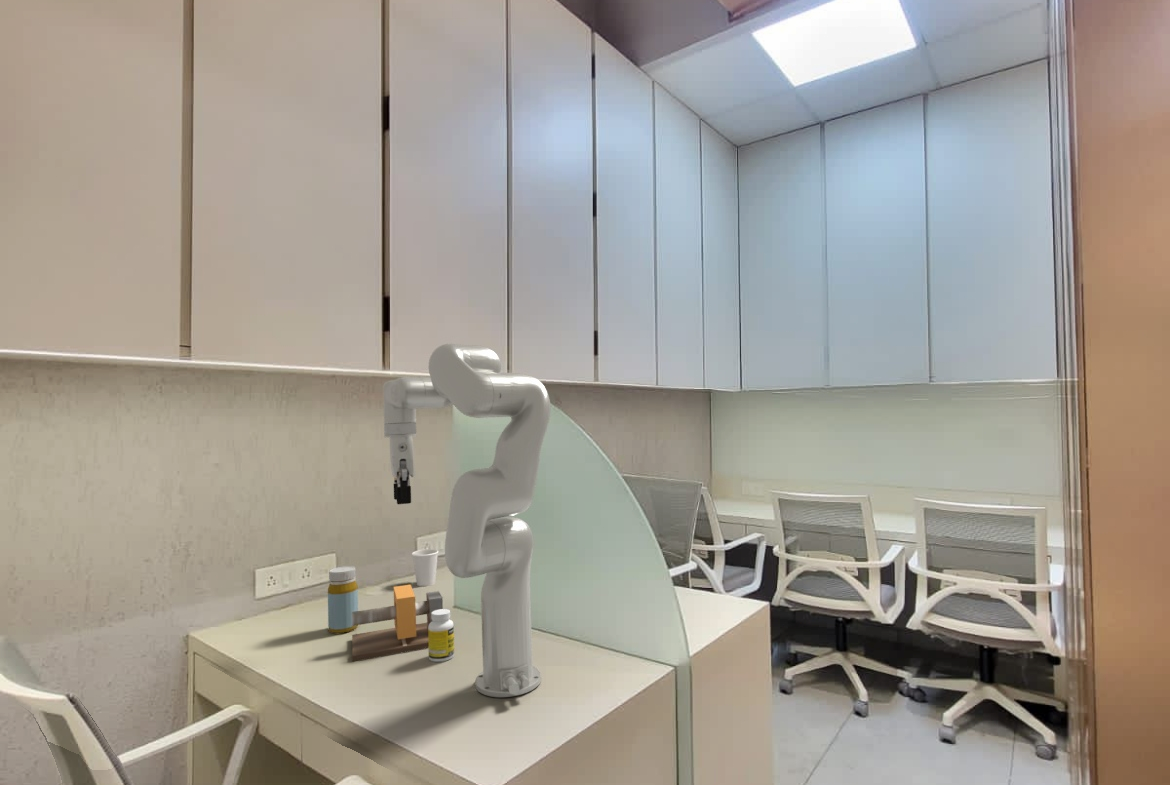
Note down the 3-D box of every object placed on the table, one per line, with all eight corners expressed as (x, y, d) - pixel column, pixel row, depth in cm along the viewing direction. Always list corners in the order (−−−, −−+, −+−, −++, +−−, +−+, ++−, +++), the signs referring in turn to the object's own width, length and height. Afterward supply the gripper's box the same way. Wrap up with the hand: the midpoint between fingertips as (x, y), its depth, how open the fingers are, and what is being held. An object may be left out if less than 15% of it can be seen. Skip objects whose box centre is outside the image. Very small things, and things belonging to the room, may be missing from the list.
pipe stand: (446, 644, 134) (444, 602, 135) (352, 661, 127) (351, 616, 127) (437, 625, 147) (436, 587, 148) (352, 639, 140) (351, 599, 140)
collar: (416, 636, 133) (415, 596, 134) (398, 639, 132) (396, 599, 132) (411, 621, 143) (410, 584, 144) (394, 624, 142) (393, 586, 142)
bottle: (347, 635, 143) (346, 573, 144) (322, 634, 145) (321, 572, 145) (364, 624, 150) (362, 565, 151) (339, 624, 151) (338, 565, 152)
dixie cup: (434, 578, 193) (433, 547, 193) (443, 583, 186) (442, 552, 186) (409, 583, 188) (408, 551, 189) (416, 589, 181) (415, 556, 182)
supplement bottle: (452, 661, 124) (451, 615, 125) (426, 663, 124) (425, 616, 125) (456, 651, 130) (454, 607, 130) (431, 653, 129) (430, 608, 130)
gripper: (420, 430, 136) (422, 504, 135) (412, 430, 152) (414, 496, 151) (386, 431, 133) (388, 507, 132) (382, 431, 149) (384, 498, 149)
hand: (402, 501), depth 142 cm, fingers open, 9 cm apart
